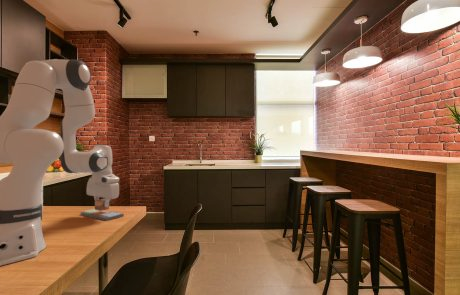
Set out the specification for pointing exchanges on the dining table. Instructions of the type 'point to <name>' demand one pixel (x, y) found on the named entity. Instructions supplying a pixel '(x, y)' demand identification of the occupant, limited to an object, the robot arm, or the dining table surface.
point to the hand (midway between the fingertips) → (101, 206)
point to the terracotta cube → (100, 205)
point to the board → (102, 214)
